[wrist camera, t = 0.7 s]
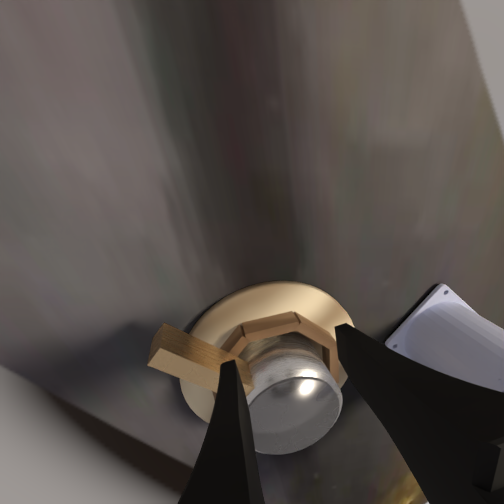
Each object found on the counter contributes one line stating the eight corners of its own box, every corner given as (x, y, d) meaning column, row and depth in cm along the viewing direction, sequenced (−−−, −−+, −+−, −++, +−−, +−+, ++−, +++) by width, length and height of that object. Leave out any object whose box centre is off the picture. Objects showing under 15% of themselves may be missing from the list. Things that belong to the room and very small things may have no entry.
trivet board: (382, 330, 27) (400, 347, 24) (280, 440, 29) (288, 465, 27) (255, 244, 21) (263, 256, 18) (143, 392, 23) (137, 418, 21)
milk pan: (334, 353, 25) (365, 398, 20) (279, 414, 26) (297, 468, 22) (192, 272, 19) (192, 309, 15) (132, 354, 20) (115, 411, 16)
